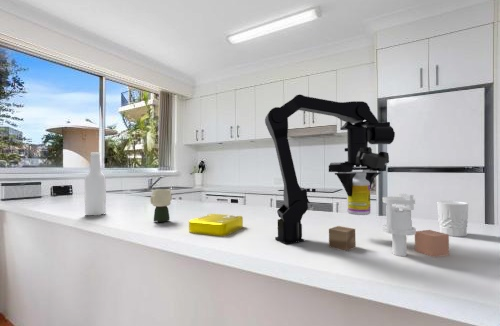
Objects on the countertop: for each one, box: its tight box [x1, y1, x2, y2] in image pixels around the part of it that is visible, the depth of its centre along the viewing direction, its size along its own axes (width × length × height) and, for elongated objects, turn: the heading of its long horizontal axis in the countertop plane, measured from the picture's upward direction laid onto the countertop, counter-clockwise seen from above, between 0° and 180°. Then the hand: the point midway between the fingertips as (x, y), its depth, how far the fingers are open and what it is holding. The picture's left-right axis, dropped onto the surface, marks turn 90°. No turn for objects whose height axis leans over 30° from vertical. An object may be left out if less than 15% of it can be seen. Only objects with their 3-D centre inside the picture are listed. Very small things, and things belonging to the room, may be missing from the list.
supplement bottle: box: [346, 170, 371, 216], centre depth 80 cm, size 7×7×13 cm
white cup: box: [436, 200, 469, 238], centre depth 83 cm, size 8×8×10 cm
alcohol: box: [84, 151, 107, 216], centre depth 127 cm, size 9×9×30 cm
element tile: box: [188, 213, 244, 237], centre depth 94 cm, size 15×15×5 cm
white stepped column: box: [382, 193, 417, 257], centre depth 65 cm, size 7×7×15 cm
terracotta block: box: [414, 229, 450, 258], centre depth 66 cm, size 5×5×5 cm
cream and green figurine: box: [150, 188, 173, 223], centre depth 108 cm, size 11×7×13 cm, turn 152°
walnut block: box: [328, 225, 357, 252], centre depth 71 cm, size 5×5×5 cm
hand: (358, 195), depth 80 cm, fingers closed on supplement bottle, 7 cm apart
